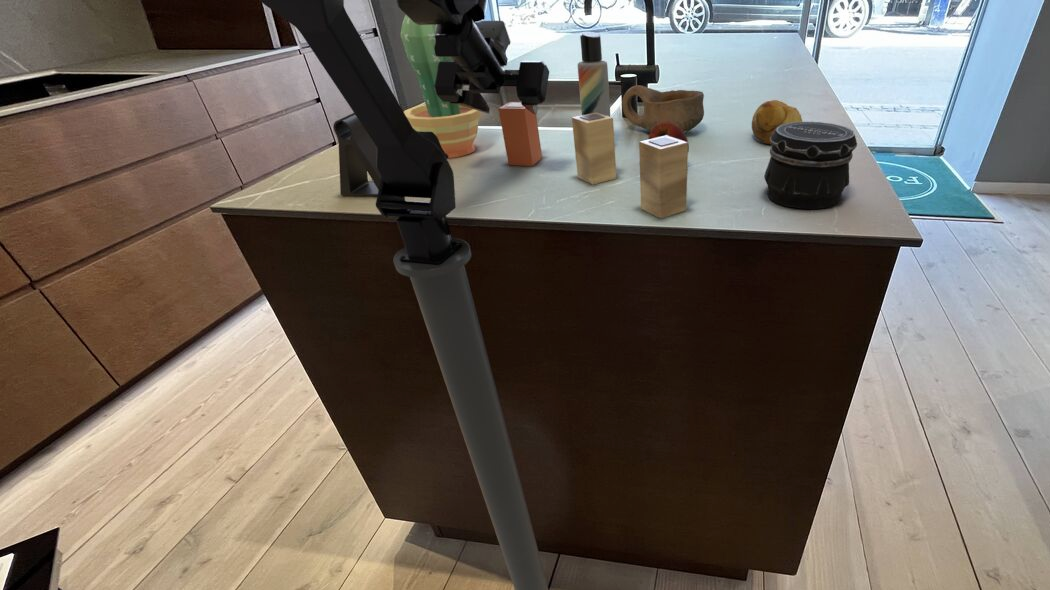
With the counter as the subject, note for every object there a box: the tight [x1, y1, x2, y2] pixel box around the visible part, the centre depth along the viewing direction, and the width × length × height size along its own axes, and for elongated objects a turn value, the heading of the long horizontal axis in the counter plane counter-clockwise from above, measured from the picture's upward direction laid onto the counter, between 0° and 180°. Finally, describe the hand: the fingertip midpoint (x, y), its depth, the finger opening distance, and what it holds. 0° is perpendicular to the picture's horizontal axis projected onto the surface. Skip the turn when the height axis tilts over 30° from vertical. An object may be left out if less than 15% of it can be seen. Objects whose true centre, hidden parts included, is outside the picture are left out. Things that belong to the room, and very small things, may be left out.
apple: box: [647, 122, 690, 152], centre depth 94 cm, size 7×8×8 cm
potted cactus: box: [399, 14, 483, 159], centre depth 101 cm, size 15×15×25 cm
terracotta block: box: [498, 101, 543, 167], centre depth 99 cm, size 5×5×10 cm
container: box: [763, 121, 858, 210], centre depth 80 cm, size 13×13×10 cm
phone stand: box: [333, 112, 381, 197], centre depth 88 cm, size 9×6×12 cm, turn 84°
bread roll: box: [751, 99, 803, 145], centre depth 107 cm, size 13×10×8 cm
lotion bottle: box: [577, 31, 611, 117], centre depth 103 cm, size 6×6×20 cm
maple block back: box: [571, 113, 617, 186], centre depth 90 cm, size 5×5×10 cm
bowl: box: [621, 84, 705, 133], centre depth 113 cm, size 18×14×10 cm
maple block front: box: [638, 135, 689, 220], centre depth 78 cm, size 5×5×10 cm
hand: (512, 111), depth 94 cm, fingers open, 9 cm apart
